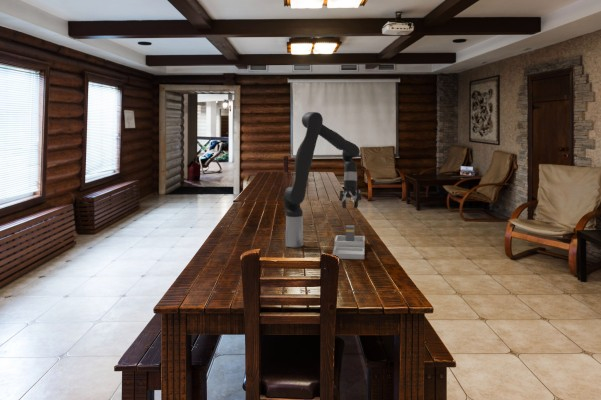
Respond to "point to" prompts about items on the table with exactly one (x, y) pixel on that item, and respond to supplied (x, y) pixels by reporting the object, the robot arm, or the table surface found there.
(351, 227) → the module
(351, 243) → the case
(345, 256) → the lid
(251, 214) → the table surface
